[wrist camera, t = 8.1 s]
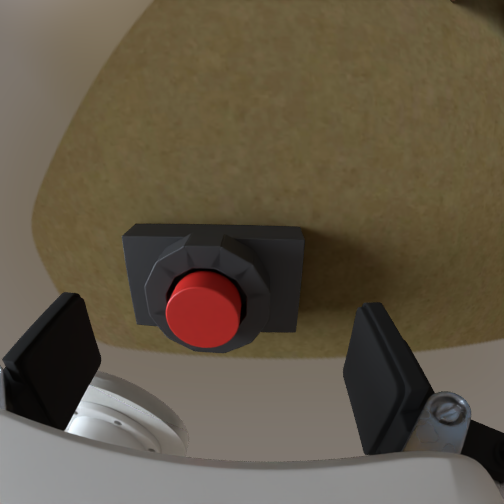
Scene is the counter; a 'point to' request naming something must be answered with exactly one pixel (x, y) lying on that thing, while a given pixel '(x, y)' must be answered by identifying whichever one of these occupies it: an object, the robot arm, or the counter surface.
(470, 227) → the counter surface
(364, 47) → the counter surface
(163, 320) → the button box
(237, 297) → the button
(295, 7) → the counter surface
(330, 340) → the counter surface
